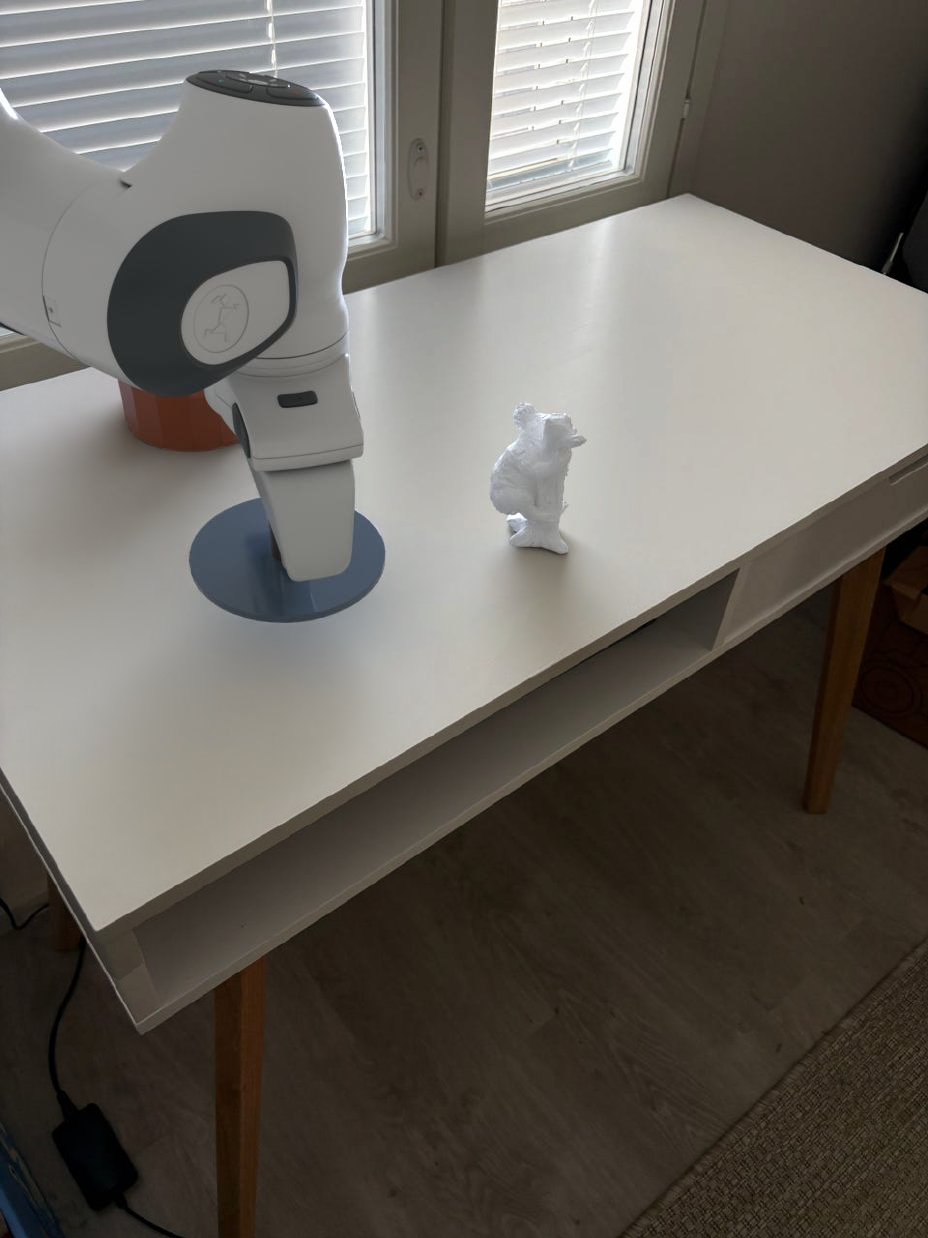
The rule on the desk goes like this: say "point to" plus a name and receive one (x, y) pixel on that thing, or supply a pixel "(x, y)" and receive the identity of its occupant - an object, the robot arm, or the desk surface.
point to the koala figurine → (535, 477)
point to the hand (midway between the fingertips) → (287, 545)
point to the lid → (276, 569)
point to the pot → (174, 420)
